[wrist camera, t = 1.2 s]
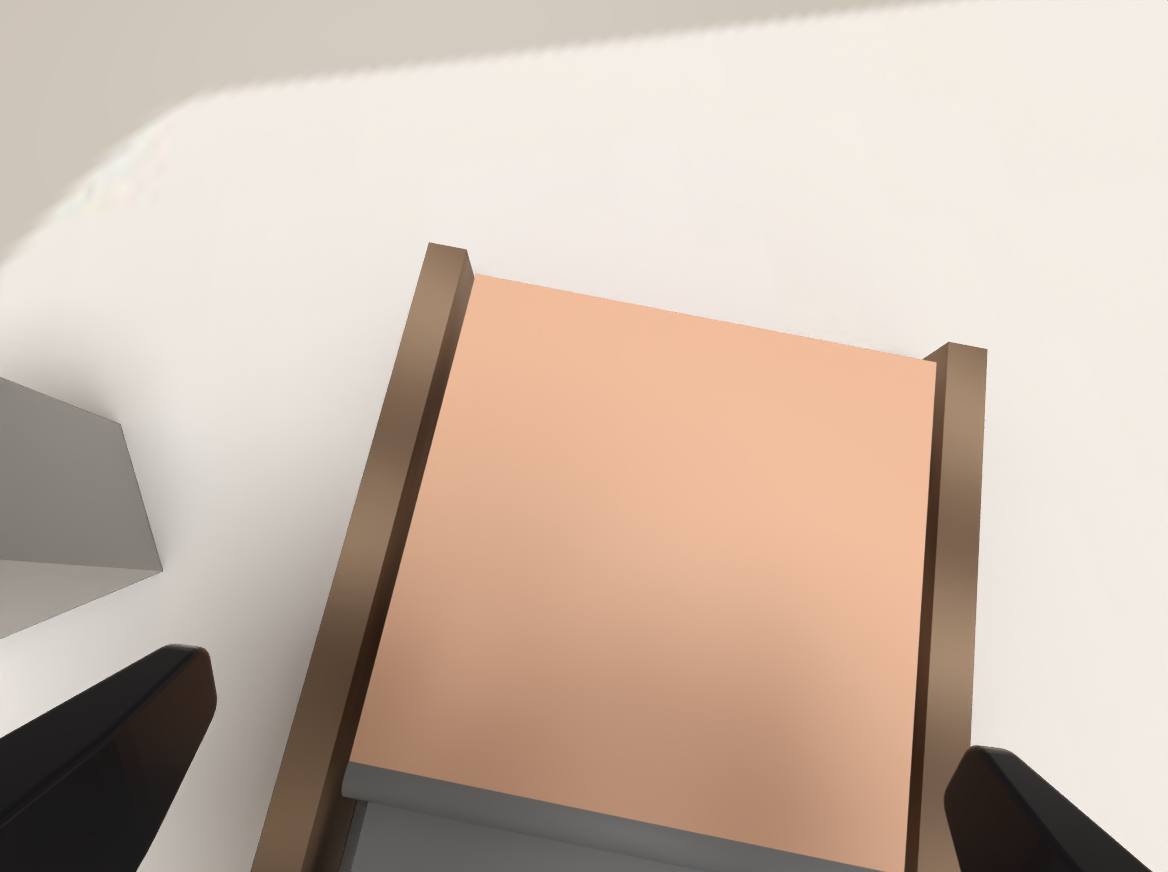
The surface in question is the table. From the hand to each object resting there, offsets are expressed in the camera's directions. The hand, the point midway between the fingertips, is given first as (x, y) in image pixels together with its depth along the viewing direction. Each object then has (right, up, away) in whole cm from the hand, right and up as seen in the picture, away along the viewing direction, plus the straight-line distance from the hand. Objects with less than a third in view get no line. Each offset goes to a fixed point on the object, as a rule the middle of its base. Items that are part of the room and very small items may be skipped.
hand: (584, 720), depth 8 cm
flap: (+2, -4, +13) cm, 14 cm away
